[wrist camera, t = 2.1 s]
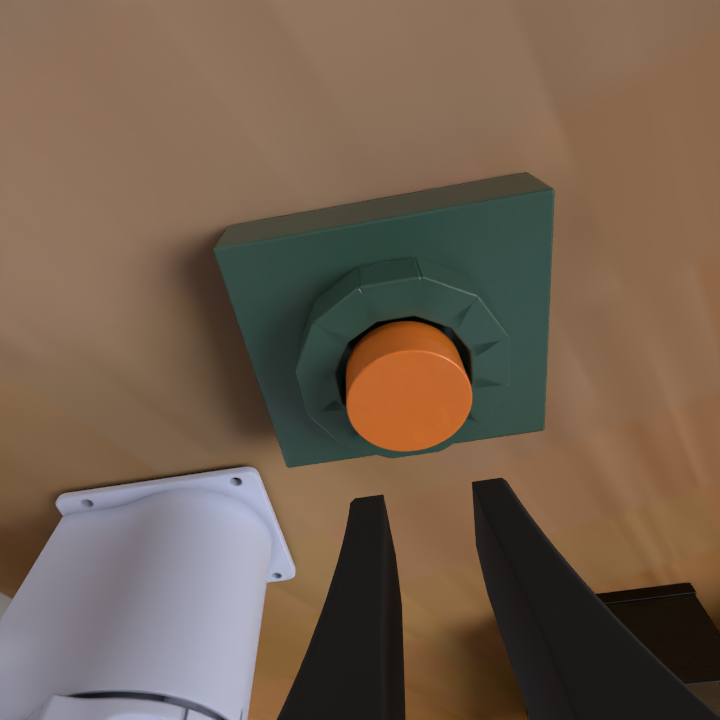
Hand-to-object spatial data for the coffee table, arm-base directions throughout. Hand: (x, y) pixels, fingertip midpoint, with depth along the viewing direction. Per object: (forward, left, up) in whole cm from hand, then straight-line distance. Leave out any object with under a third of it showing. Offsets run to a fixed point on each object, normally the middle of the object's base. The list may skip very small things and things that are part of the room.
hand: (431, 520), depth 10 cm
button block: (0, 0, -9) cm, 9 cm away
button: (0, 0, -6) cm, 6 cm away
